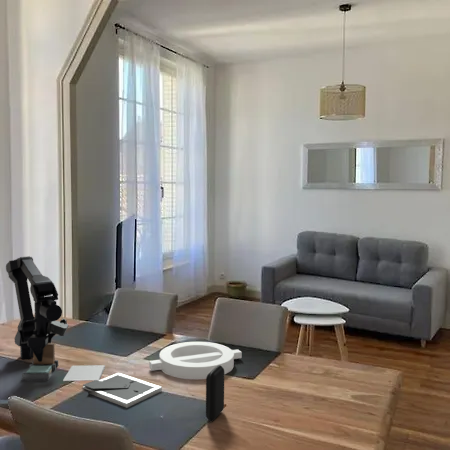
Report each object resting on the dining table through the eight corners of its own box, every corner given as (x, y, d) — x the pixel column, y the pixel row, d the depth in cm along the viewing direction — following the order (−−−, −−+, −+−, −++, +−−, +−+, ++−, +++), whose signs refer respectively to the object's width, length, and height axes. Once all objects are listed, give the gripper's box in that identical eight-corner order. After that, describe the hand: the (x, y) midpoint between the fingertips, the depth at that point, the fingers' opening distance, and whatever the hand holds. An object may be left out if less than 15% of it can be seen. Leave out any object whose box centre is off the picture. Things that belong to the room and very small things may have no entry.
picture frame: (82, 393, 170) (126, 410, 158) (82, 384, 170) (126, 401, 158) (118, 378, 183) (161, 392, 171) (118, 370, 182) (161, 384, 170)
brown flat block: (35, 366, 188) (34, 342, 187) (54, 366, 188) (54, 342, 187) (33, 369, 186) (33, 344, 185) (53, 368, 186) (52, 344, 185)
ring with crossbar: (145, 372, 187) (145, 360, 187) (180, 349, 213) (180, 338, 213) (216, 385, 177) (216, 371, 176) (244, 359, 203) (244, 347, 202)
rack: (33, 367, 190) (33, 359, 189) (58, 367, 190) (58, 359, 190) (21, 383, 175) (21, 375, 175) (48, 383, 176) (48, 374, 176)
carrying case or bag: (217, 407, 159) (218, 361, 158) (226, 409, 158) (227, 362, 156) (204, 422, 149) (204, 373, 148) (213, 424, 148) (214, 375, 147)
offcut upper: (31, 368, 184) (31, 365, 183) (51, 368, 184) (51, 365, 184) (26, 375, 178) (26, 372, 177) (47, 374, 178) (47, 371, 178)
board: (72, 368, 190) (71, 365, 189) (105, 367, 190) (104, 365, 190) (62, 383, 176) (62, 380, 176) (98, 382, 177) (98, 380, 176)
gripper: (59, 322, 177) (60, 366, 178) (71, 308, 195) (72, 348, 197) (26, 322, 176) (27, 366, 177) (41, 308, 194) (42, 348, 196)
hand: (43, 357), depth 187 cm, fingers open, 9 cm apart
